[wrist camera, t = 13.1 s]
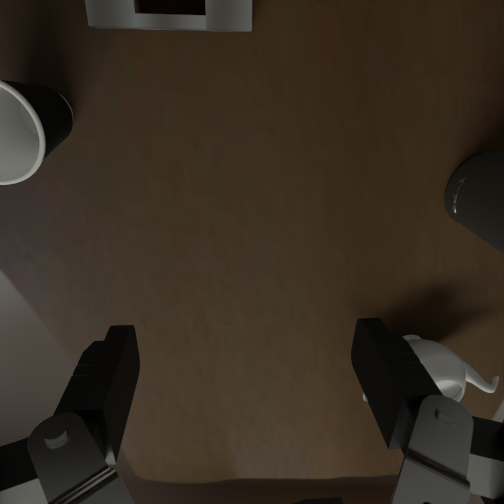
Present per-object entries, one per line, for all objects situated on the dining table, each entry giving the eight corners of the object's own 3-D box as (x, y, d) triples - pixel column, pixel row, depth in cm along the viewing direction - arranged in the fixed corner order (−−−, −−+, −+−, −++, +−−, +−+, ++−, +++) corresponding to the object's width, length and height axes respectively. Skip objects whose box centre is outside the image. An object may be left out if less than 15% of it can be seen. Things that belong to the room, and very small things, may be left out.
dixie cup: (10, 55, 34) (-73, 52, 25) (97, 90, 36) (52, 100, 27) (0, 136, 38) (-77, 163, 28) (81, 165, 40) (35, 199, 30)
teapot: (460, 370, 58) (500, 421, 50) (336, 370, 56) (355, 424, 48) (482, 321, 54) (529, 368, 45) (348, 319, 52) (372, 368, 43)
